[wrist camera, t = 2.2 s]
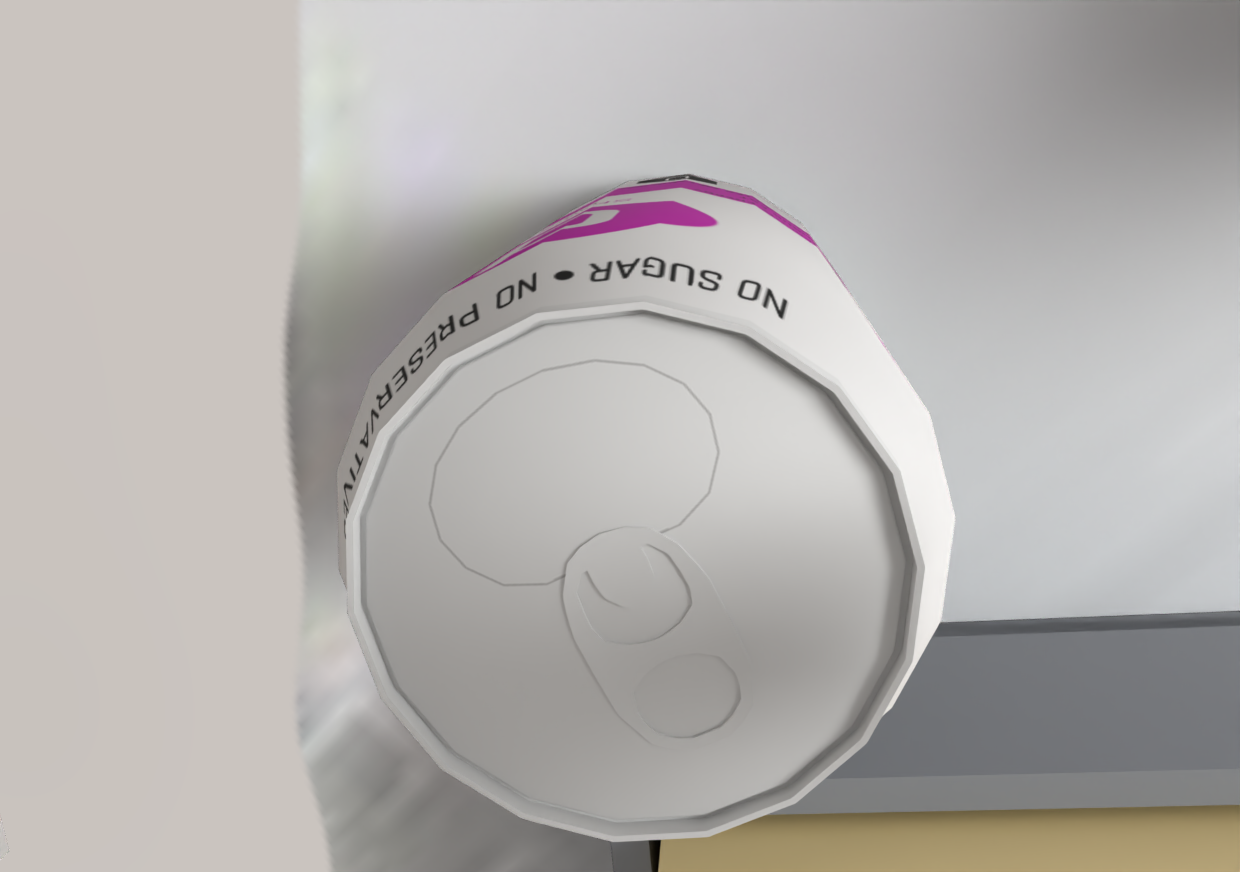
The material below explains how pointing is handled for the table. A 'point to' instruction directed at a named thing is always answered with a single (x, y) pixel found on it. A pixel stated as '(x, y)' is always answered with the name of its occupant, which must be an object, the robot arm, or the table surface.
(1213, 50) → the table surface
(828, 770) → the supplement can
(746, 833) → the inner crate
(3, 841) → the robot arm
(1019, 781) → the outer crate
